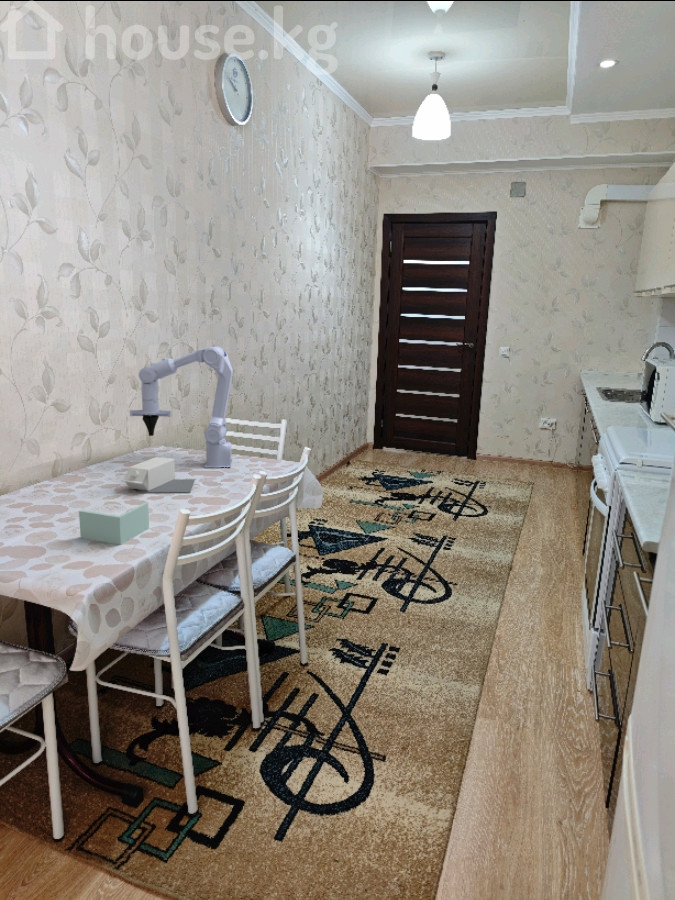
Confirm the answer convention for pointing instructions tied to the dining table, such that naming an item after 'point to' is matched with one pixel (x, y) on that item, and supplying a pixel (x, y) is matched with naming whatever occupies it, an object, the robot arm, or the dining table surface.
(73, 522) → the dining table surface
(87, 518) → the l-shaped corner panel
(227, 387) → the robot arm
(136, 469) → the milk carton
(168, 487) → the mat
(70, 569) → the dining table surface
